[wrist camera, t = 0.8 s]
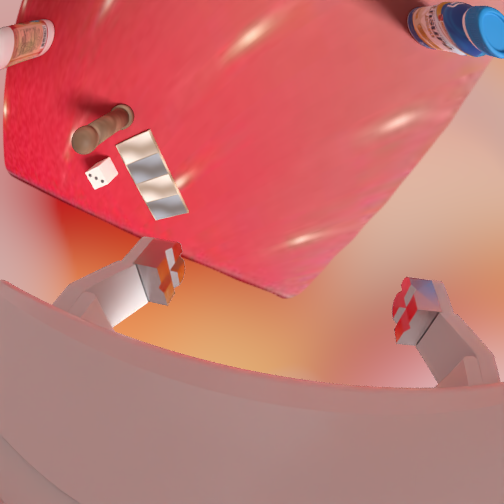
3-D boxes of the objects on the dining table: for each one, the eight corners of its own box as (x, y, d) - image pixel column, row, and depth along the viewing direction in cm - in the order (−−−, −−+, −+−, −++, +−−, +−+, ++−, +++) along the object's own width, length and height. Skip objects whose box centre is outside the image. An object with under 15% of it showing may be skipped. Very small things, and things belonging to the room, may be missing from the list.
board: (116, 144, 49) (115, 145, 48) (150, 129, 46) (149, 130, 46) (156, 219, 61) (155, 220, 61) (189, 211, 59) (188, 212, 58)
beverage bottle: (449, 51, 27) (523, 71, 13) (410, 48, 29) (478, 60, 15) (441, 9, 22) (514, 9, 7) (400, 4, 24) (464, -9, 10)
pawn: (108, 110, 43) (60, 138, 33) (127, 99, 42) (80, 125, 31) (118, 131, 47) (74, 164, 36) (137, 122, 45) (94, 153, 34)
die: (95, 163, 52) (83, 173, 49) (109, 156, 51) (98, 166, 47) (104, 181, 55) (94, 191, 52) (119, 175, 54) (108, 185, 50)
